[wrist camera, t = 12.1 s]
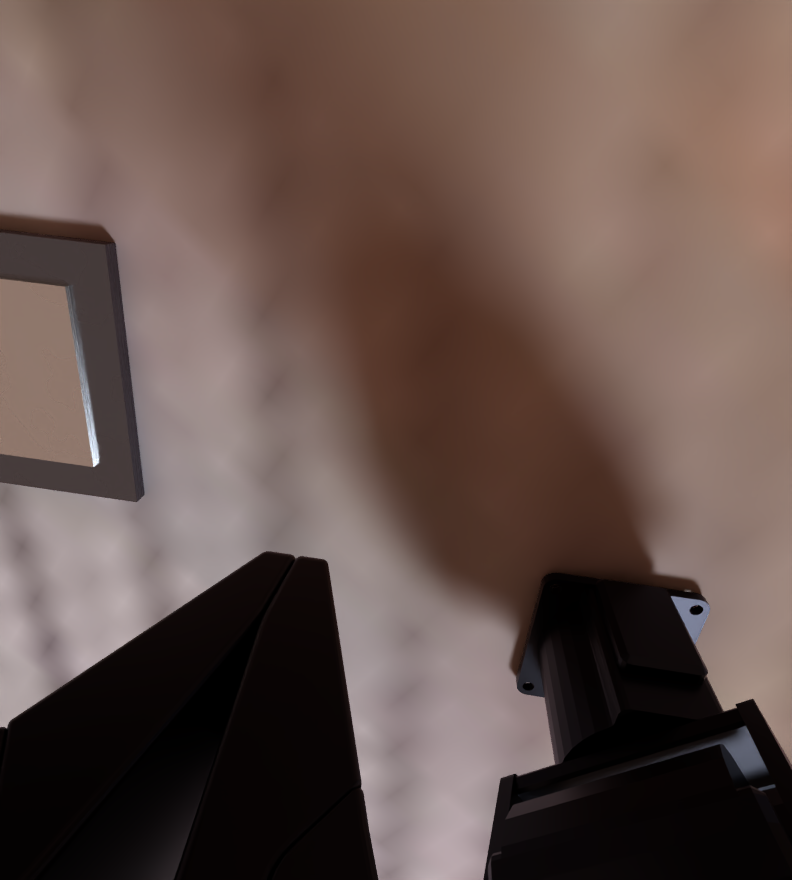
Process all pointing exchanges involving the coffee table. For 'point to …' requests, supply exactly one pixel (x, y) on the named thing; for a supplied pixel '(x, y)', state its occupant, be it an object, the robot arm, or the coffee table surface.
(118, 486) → the panel
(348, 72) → the coffee table surface
